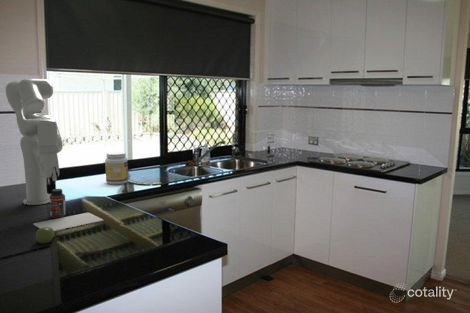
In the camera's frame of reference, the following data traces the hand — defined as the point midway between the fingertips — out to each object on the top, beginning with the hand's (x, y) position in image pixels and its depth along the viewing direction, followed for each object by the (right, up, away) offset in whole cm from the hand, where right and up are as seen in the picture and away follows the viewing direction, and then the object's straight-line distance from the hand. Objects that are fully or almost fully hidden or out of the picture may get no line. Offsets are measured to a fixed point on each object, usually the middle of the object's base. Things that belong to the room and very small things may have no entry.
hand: (51, 193), depth 173 cm
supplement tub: (+10, 0, +62) cm, 63 cm away
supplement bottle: (+4, -10, -3) cm, 11 cm away
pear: (+12, -14, -30) cm, 35 cm away
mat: (+12, -11, -11) cm, 19 cm away
